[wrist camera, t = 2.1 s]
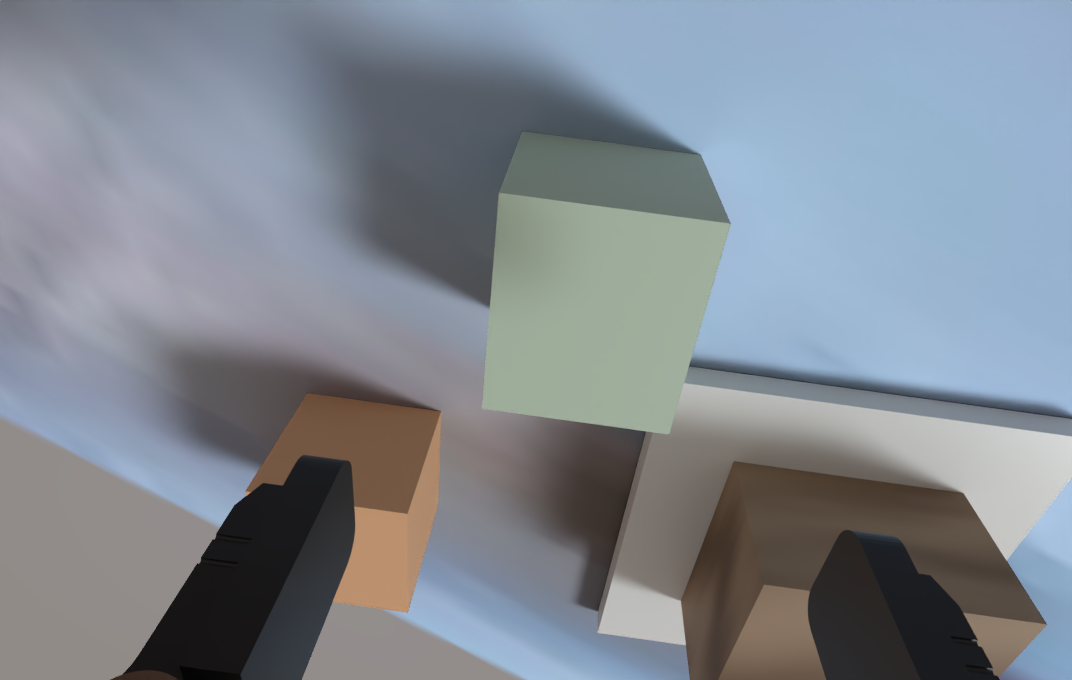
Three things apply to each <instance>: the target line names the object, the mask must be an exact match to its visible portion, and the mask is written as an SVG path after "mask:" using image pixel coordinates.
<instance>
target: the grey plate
mask: <svg viewBox="0 0 1072 680" xmlns="http://www.w3.org/2000/svg"><path fill="white" fill-rule="evenodd" d="M734 461H736V462H744V463H751V464H758V465H765V466H772V467H780V468H787V469H794V470H801V471H808V472H816V473H823V474H830V475H837V476H844V477H851V478H859V479H866V480H873V481H880V482H887V483H895V484H902V485H909V486H916V487H923V488H931V489H938V490H945V491H952V492H959V493H964V495H965V496H966V498H967V499H968V501H969V503H970V504H971V506H972V507H973V509H974V510H975V512H976V514H977V515H978V517H979V518H980V520H981V521H982V523H983V525H984V526H985V528H986V529H987V531H988V532H989V534H990V536H991V537H992V539H993V540H994V542H995V543H996V545H997V547H998V548H999V550H1000V551H1001V553H1002V554H1003V556H1004V558H1005V559H1006V560H1007V559H1008V558H1009V557H1010V555H1011V554H1012V553H1013V552H1014V550H1015V549H1016V548H1017V547H1018V545H1019V544H1020V543H1021V541H1022V540H1023V539H1024V538H1025V536H1026V535H1027V534H1028V533H1029V531H1030V530H1031V529H1032V528H1033V526H1034V525H1035V524H1036V522H1037V521H1038V520H1039V519H1040V517H1041V516H1042V515H1043V514H1044V512H1045V511H1046V510H1047V508H1048V507H1049V506H1050V505H1051V503H1052V502H1053V501H1054V500H1055V498H1056V497H1057V496H1058V495H1059V493H1060V492H1061V491H1062V489H1063V488H1064V487H1065V486H1066V484H1067V483H1068V482H1069V481H1070V479H1071V478H1072V419H1068V418H1061V417H1053V416H1046V415H1039V414H1032V413H1024V412H1017V411H1010V410H1002V409H995V408H988V407H981V406H973V405H966V404H959V403H952V402H944V401H937V400H930V399H922V398H915V397H908V396H901V395H893V394H886V393H879V392H871V391H864V390H857V389H850V388H842V387H835V386H828V385H820V384H813V383H806V382H799V381H791V380H784V379H777V378H770V377H762V376H755V375H748V374H740V373H733V372H726V371H719V370H711V369H704V368H697V367H689V368H688V371H687V375H686V378H685V382H684V385H683V388H682V392H681V395H680V399H679V402H678V405H677V409H676V412H675V416H674V419H673V422H672V426H671V429H670V433H669V434H662V433H655V432H647V431H646V434H645V438H644V441H643V445H642V449H641V453H640V456H639V460H638V464H637V468H636V471H635V475H634V479H633V483H632V486H631V490H630V494H629V498H628V501H627V505H626V509H625V513H624V516H623V520H622V524H621V528H620V531H619V535H618V539H617V543H616V546H615V550H614V554H613V558H612V561H611V565H610V569H609V572H608V576H607V580H606V584H605V587H604V591H603V595H602V599H601V602H600V606H599V610H598V633H604V634H611V635H618V636H625V637H632V638H639V639H646V640H653V641H660V642H667V643H674V644H681V645H686V641H685V632H684V624H683V615H682V607H681V599H682V597H683V594H684V591H685V589H686V586H687V583H688V581H689V578H690V575H691V573H692V570H693V567H694V565H695V562H696V560H697V557H698V554H699V552H700V549H701V546H702V544H703V541H704V538H705V536H706V533H707V530H708V528H709V525H710V523H711V520H712V517H713V515H714V512H715V509H716V507H717V504H718V501H719V499H720V496H721V493H722V491H723V488H724V486H725V483H726V480H727V478H728V475H729V472H730V470H731V467H732V464H733V462H734Z"/></svg>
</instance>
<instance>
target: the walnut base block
mask: <svg viewBox="0 0 1072 680" xmlns="http://www.w3.org/2000/svg"><path fill="white" fill-rule="evenodd" d="M844 530H853V531H860V532H867V533H875V534H882V535H890V536H895V537H897V538H898V539H899V540H900V541H901V542H902V543H903V544H904V546H905V548H906V550H907V552H908V554H909V556H910V558H911V560H912V562H913V564H914V566H915V567H916V569H917V571H918V573H919V574H925V575H931V576H932V577H933V579H934V580H935V581H936V582H937V583H938V584H939V585H940V586H941V587H942V588H943V589H944V590H945V591H946V592H947V593H948V594H949V596H950V597H951V598H952V599H953V600H954V601H955V602H956V603H957V604H958V605H959V606H960V608H961V610H962V612H963V613H964V615H965V617H966V619H967V621H968V623H969V624H970V626H971V628H972V630H973V632H974V634H975V635H976V637H977V639H978V641H977V644H978V646H980V647H982V648H983V650H984V652H985V654H986V656H987V657H988V659H989V661H990V663H991V665H992V667H993V674H994V675H996V676H998V677H999V676H1000V675H1001V674H1002V673H1003V672H1004V671H1005V670H1006V669H1007V668H1008V666H1009V665H1010V664H1011V663H1012V662H1013V661H1014V660H1015V659H1016V658H1017V657H1018V656H1019V654H1020V653H1021V652H1022V651H1023V650H1024V649H1025V648H1026V647H1027V646H1028V645H1029V644H1030V643H1031V641H1032V640H1033V639H1034V638H1035V637H1036V636H1037V635H1038V634H1039V633H1040V632H1041V631H1042V630H1043V628H1044V627H1045V626H1046V625H1047V624H1046V622H1045V621H1044V619H1043V617H1042V616H1041V614H1040V613H1039V611H1038V610H1037V608H1036V606H1035V605H1034V603H1033V602H1032V600H1031V599H1030V597H1029V595H1028V594H1027V592H1026V591H1025V589H1024V587H1023V586H1022V584H1021V583H1020V581H1019V580H1018V578H1017V576H1016V575H1015V573H1014V572H1013V570H1012V569H1011V567H1010V565H1009V564H1008V562H1007V561H1006V559H1005V558H1004V556H1003V554H1002V553H1001V551H1000V550H999V548H998V547H997V545H996V543H995V542H994V540H993V539H992V537H991V536H990V534H989V532H988V531H987V529H986V528H985V526H984V525H983V523H982V521H981V520H980V518H979V517H978V515H977V514H976V512H975V510H974V509H973V507H972V506H971V504H970V503H969V501H968V499H967V498H966V496H965V495H964V493H959V492H952V491H945V490H938V489H931V488H923V487H916V486H909V485H902V484H895V483H887V482H880V481H873V480H866V479H859V478H851V477H844V476H837V475H830V474H823V473H816V472H808V471H801V470H794V469H787V468H780V467H772V466H765V465H758V464H751V463H744V462H736V461H734V462H733V464H732V467H731V470H730V472H729V475H728V478H727V480H726V483H725V486H724V488H723V491H722V493H721V496H720V499H719V501H718V504H717V507H716V509H715V512H714V515H713V517H712V520H711V523H710V525H709V528H708V530H707V533H706V536H705V538H704V541H703V544H702V546H701V549H700V552H699V554H698V557H697V560H696V562H695V565H694V567H693V570H692V573H691V575H690V578H689V581H688V583H687V586H686V589H685V591H684V594H683V597H682V599H681V607H682V615H683V624H684V632H685V641H686V649H687V658H688V666H689V675H690V680H826V678H825V674H824V671H823V668H822V665H821V662H820V658H819V655H818V652H817V649H816V645H815V642H814V639H813V636H812V633H811V629H810V625H809V620H808V598H809V593H810V590H811V588H812V585H813V583H814V582H815V580H816V578H817V576H818V574H819V572H820V570H821V568H822V566H823V564H824V562H825V560H826V559H827V557H828V555H829V553H830V551H831V549H832V547H833V545H834V543H835V541H836V539H837V538H838V536H839V534H840V533H841V532H843V531H844Z"/></svg>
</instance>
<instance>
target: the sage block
mask: <svg viewBox="0 0 1072 680" xmlns="http://www.w3.org/2000/svg"><path fill="white" fill-rule="evenodd" d="M730 225H731V223H730V221H729V219H728V216H727V214H726V212H725V209H724V207H723V205H722V202H721V200H720V198H719V196H718V193H717V191H716V189H715V186H714V184H713V182H712V179H711V177H710V175H709V172H708V170H707V168H706V166H705V163H704V161H703V159H702V156H701V155H698V154H690V153H683V152H675V151H668V150H660V149H653V148H645V147H638V146H630V145H623V144H615V143H608V142H600V141H593V140H585V139H578V138H570V137H563V136H555V135H548V134H540V133H532V132H525V131H522V133H521V136H520V138H519V141H518V144H517V146H516V149H515V151H514V154H513V157H512V159H511V162H510V165H509V167H508V170H507V173H506V175H505V178H504V181H503V183H502V186H501V188H500V191H499V198H498V210H497V223H496V236H495V248H494V261H493V274H492V286H491V299H490V312H489V324H488V337H487V350H486V363H485V375H484V388H483V401H482V409H488V410H495V411H503V412H510V413H517V414H524V415H531V416H539V417H546V418H553V419H560V420H568V421H575V422H582V423H589V424H597V425H604V426H611V427H618V428H626V429H633V430H640V431H647V432H655V433H662V434H669V433H670V429H671V426H672V422H673V419H674V416H675V412H676V409H677V405H678V402H679V399H680V395H681V392H682V388H683V385H684V382H685V378H686V375H687V371H688V368H689V364H690V361H691V358H692V354H693V351H694V347H695V344H696V341H697V337H698V334H699V330H700V327H701V323H702V320H703V317H704V313H705V310H706V306H707V303H708V300H709V296H710V293H711V289H712V286H713V283H714V279H715V276H716V272H717V269H718V265H719V262H720V259H721V255H722V252H723V248H724V245H725V242H726V238H727V235H728V231H729V228H730Z"/></svg>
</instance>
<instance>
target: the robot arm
mask: <svg viewBox="0 0 1072 680" xmlns="http://www.w3.org/2000/svg"><path fill="white" fill-rule="evenodd" d="M354 536H355V509H354V493H353V477H352V466H351V463H350V462H349V461H347V460H339V459H332V458H324V457H317V456H310V455H302V456H301V457H300V458H299V459H298V460H297V462H296V463H295V465H294V467H293V468H292V470H291V472H290V474H289V475H288V477H287V479H286V481H285V482H284V484H283V486H282V485H275V484H268V483H262V484H261V485H260V486H258V487H257V488H256V489H255V490H253V491H252V492H251V493H250V494H248V495H247V496H246V497H244V498H243V499H242V500H241V501H239V502H238V503H237V504H236V505H234V507H233V508H232V510H231V512H230V513H229V515H228V516H227V518H226V519H225V521H224V523H223V524H222V526H221V527H220V529H219V530H218V532H217V534H216V538H215V540H212V542H211V543H210V545H209V546H208V548H207V549H206V551H205V552H204V554H203V555H202V557H201V562H200V563H199V564H197V565H196V566H195V568H194V570H193V571H192V573H191V574H190V576H189V577H188V579H187V581H186V582H185V583H184V585H183V587H182V588H181V590H180V591H179V593H178V594H177V596H176V598H175V599H174V601H173V602H172V604H171V605H170V607H169V608H168V610H167V612H166V613H165V615H164V616H163V618H162V619H161V621H160V623H159V624H158V626H157V627H156V629H155V631H154V632H153V634H152V635H151V637H150V638H149V640H148V641H147V643H146V645H145V646H144V648H143V649H142V651H141V652H140V654H139V655H138V657H137V658H136V659H135V661H134V662H133V664H132V665H131V666H130V667H129V668H128V669H127V670H126V672H124V673H123V674H122V675H120V676H118V677H115V678H113V679H111V680H302V677H303V675H304V672H305V670H306V667H307V665H308V662H309V660H310V657H311V655H312V652H313V650H314V647H315V644H316V642H317V639H318V637H319V635H320V632H321V630H322V627H323V625H324V622H325V620H326V617H327V614H328V612H329V610H330V607H331V605H332V602H333V599H334V597H335V594H336V592H337V589H338V587H339V584H340V582H341V579H342V577H343V574H344V572H345V569H346V567H347V564H348V562H349V559H350V555H351V552H352V547H353V543H354ZM808 620H809V625H810V629H811V633H812V636H813V639H814V642H815V645H816V649H817V652H818V655H819V658H820V662H821V665H822V668H823V671H824V674H825V678H826V680H1000V679H999V678H998V676H996V675H994V674H993V667H992V665H991V663H990V661H989V659H988V657H987V656H986V654H985V652H984V650H983V648H982V647H980V646H978V644H977V641H978V639H977V637H976V635H975V634H974V632H973V630H972V628H971V626H970V624H969V623H968V621H967V619H966V617H965V615H964V613H963V612H962V610H961V608H960V606H959V605H958V604H957V603H956V602H955V601H954V600H953V599H952V598H951V597H950V596H949V594H948V593H947V592H946V591H945V590H944V589H943V588H942V587H941V586H940V585H939V584H938V583H937V582H936V581H935V580H934V579H933V577H932V576H931V575H925V574H919V573H918V571H917V569H916V567H915V566H914V564H913V562H912V560H911V558H910V556H909V554H908V552H907V550H906V548H905V546H904V544H903V543H902V542H901V541H900V540H899V539H898V538H897V537H895V536H890V535H882V534H875V533H867V532H860V531H853V530H844V531H843V532H841V533H840V534H839V536H838V538H837V539H836V541H835V543H834V545H833V547H832V549H831V551H830V553H829V555H828V557H827V559H826V560H825V562H824V564H823V566H822V568H821V570H820V572H819V574H818V576H817V578H816V580H815V582H814V583H813V585H812V588H811V590H810V593H809V598H808Z"/></svg>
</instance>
